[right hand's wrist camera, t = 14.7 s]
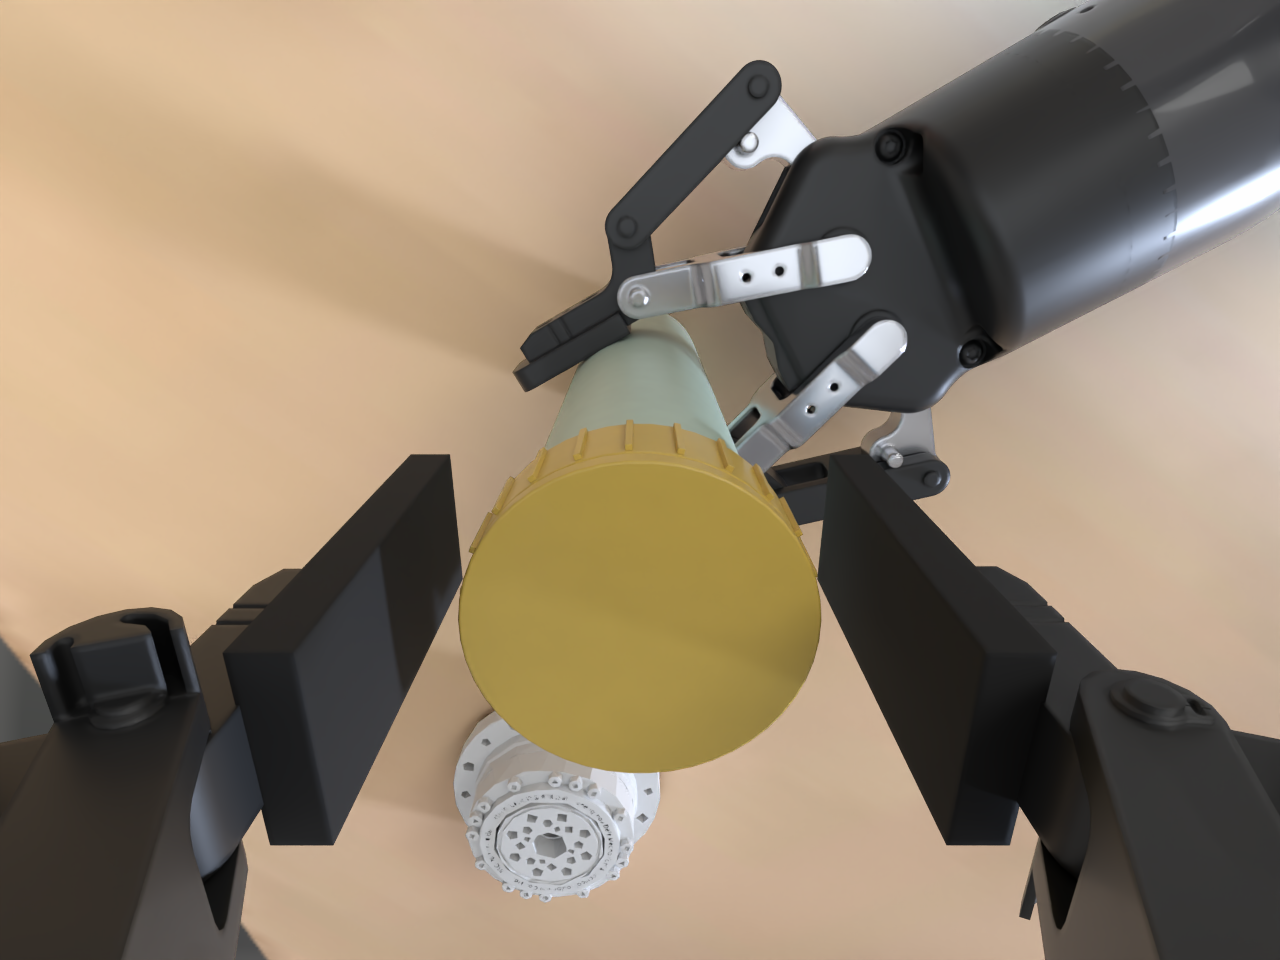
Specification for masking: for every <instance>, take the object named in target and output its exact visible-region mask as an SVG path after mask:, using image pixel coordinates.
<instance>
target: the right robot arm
mask: <svg viewBox="0 0 1280 960" xmlns="http://www.w3.org/2000/svg"><path fill="white" fill-rule="evenodd" d="M462 579H463V578H462V568H461V558H460V548H459V538H458V528H457V519H456V509H455V499H454V489H453V479H452V469H451V459H450V454H411V455H410V456H409V457H408V458H407V459H406V460H405V461H404V462H403V463H402V464H401V465H400V466H399V468H398V469H397V470H396V471H395V472H394V473H393V474H392V475H391V476H390V477H389V478H388V479H387V480H386V481H385V482H384V483H383V484H382V485H381V486H380V488H379V489H378V490H377V491H376V492H375V493H374V494H373V495H372V496H371V497H370V498H369V499H368V500H367V501H366V502H365V503H364V504H363V505H362V506H361V507H360V509H359V510H358V511H357V512H356V513H355V514H354V515H353V516H352V517H351V518H350V519H349V520H348V521H347V522H346V523H345V524H344V525H343V526H342V527H341V529H340V530H339V531H338V532H337V533H336V534H335V535H334V536H333V537H332V538H331V539H330V540H329V541H328V542H327V543H326V544H325V545H324V546H323V547H322V548H321V550H320V551H319V552H318V553H317V554H316V555H315V556H314V557H313V558H312V559H311V560H310V561H309V562H308V563H307V564H306V565H305V566H304V567H303V568H302V569H283V570H281V571H279V572H277V573H275V574H273V575H272V576H270V577H268V578H266V579H264V580H262V581H260V582H259V583H257V584H255V585H253V586H252V587H251V588H250V589H249V590H248V591H247V592H246V593H245V594H244V595H243V596H242V597H241V598H240V599H239V600H238V601H237V602H236V603H234V604H233V608H229V609H228V610H227V611H226V612H225V613H224V614H223V615H222V616H221V617H220V618H219V619H218V620H217V623H216V625H212V626H211V627H210V628H208V629H207V630H206V631H205V632H204V633H203V634H202V635H201V636H200V637H199V638H198V639H197V640H196V641H195V642H194V643H193V644H192V645H191V646H190V644H189V640H188V636H187V633H186V629H185V625H184V621H183V618H182V616H180V615H178V614H177V613H175V612H174V611H172V610H168V609H161V608H153V607H149V608H138V609H126V610H122V611H118V612H113V613H109V614H105V615H101V616H97V617H94V618H92V619H89V620H86V621H84V622H81V623H78V624H76V625H73V626H70V627H68V628H66V629H65V630H63V631H61V632H59V633H58V634H56V635H54V636H52V637H51V638H49V639H47V640H45V641H44V642H43V643H42V644H41V645H40V646H39V647H38V648H37V649H36V650H34V651H33V652H32V653H31V654H30V657H31V660H32V663H33V666H34V668H35V671H36V674H37V677H38V679H39V682H40V685H41V688H42V690H43V693H44V696H45V699H46V701H47V704H48V707H49V709H50V712H51V715H52V718H53V720H54V724H53V726H52V727H51V729H50V731H49V733H48V734H43V735H38V736H33V737H28V738H23V739H18V740H12V741H7V742H2V743H0V960H235V956H236V949H237V942H238V935H239V929H240V922H241V915H242V908H243V901H244V894H245V887H246V880H247V873H248V866H247V859H246V853H245V849H244V846H243V842H242V838H243V836H244V835H245V833H246V832H247V830H248V829H249V827H250V825H251V824H252V822H253V821H254V819H255V818H256V816H257V814H258V813H259V811H260V810H262V814H263V818H264V822H265V826H266V830H267V834H268V838H269V842H270V845H334V843H335V841H336V839H337V837H338V835H339V833H340V831H341V829H342V827H343V824H344V822H345V820H346V818H347V816H348V814H349V812H350V810H351V808H352V806H353V804H354V802H355V800H356V798H357V796H358V794H359V791H360V789H361V787H362V785H363V783H364V781H365V779H366V777H367V775H368V773H369V771H370V769H371V767H372V765H373V763H374V761H375V759H376V756H377V754H378V752H379V750H380V748H381V746H382V744H383V742H384V740H385V738H386V736H387V734H388V732H389V730H390V728H391V726H392V724H393V721H394V719H395V717H396V715H397V713H398V711H399V709H400V707H401V705H402V703H403V701H404V699H405V697H406V695H407V693H408V691H409V688H410V686H411V684H412V682H413V680H414V678H415V676H416V674H417V672H418V670H419V668H420V666H421V664H422V662H423V660H424V658H425V656H426V653H427V651H428V649H429V647H430V645H431V643H432V641H433V639H434V637H435V635H436V633H437V631H438V629H439V627H440V625H441V623H442V620H443V618H444V616H445V614H446V612H447V610H448V608H449V606H450V604H451V602H452V600H453V598H454V596H455V594H456V592H457V590H458V588H459V585H460V583H461V581H462ZM817 579H818V581H819V583H820V585H821V588H822V590H823V592H824V594H825V596H826V598H827V600H828V602H829V604H830V606H831V608H832V610H833V612H834V614H835V616H836V618H837V620H838V623H839V625H840V627H841V629H842V631H843V633H844V635H845V637H846V639H847V641H848V643H849V645H850V647H851V649H852V651H853V653H854V656H855V658H856V660H857V662H858V664H859V666H860V668H861V670H862V672H863V674H864V676H865V678H866V680H867V682H868V684H869V686H870V688H871V691H872V693H873V695H874V697H875V699H876V701H877V703H878V705H879V707H880V709H881V711H882V713H883V715H884V717H885V719H886V721H887V724H888V726H889V728H890V730H891V732H892V734H893V736H894V738H895V740H896V742H897V744H898V746H899V748H900V750H901V752H902V754H903V756H904V759H905V761H906V763H907V765H908V767H909V769H910V771H911V773H912V775H913V777H914V779H915V781H916V783H917V785H918V787H919V789H920V791H921V794H922V796H923V798H924V800H925V802H926V804H927V806H928V808H929V810H930V812H931V814H932V816H933V818H934V820H935V822H936V824H937V827H938V829H939V831H940V833H941V835H942V837H943V839H944V841H945V843H946V845H1010V842H1011V838H1012V834H1013V830H1014V826H1015V822H1016V818H1017V814H1018V810H1019V806H1020V808H1021V809H1022V811H1023V812H1024V814H1025V815H1026V817H1027V818H1028V820H1029V822H1030V823H1031V825H1032V826H1033V828H1034V829H1035V831H1036V832H1037V834H1038V836H1039V838H1038V842H1037V846H1036V849H1035V853H1034V857H1033V861H1032V864H1031V868H1030V872H1029V876H1028V879H1027V883H1026V887H1025V891H1024V894H1023V898H1022V902H1021V909H1020V915H1019V917H1022V918H1025V919H1028V920H1030V918H1031V914H1032V911H1033V907H1034V904H1035V903H1037V906H1038V913H1039V920H1040V927H1041V933H1042V940H1043V947H1044V954H1045V960H1280V739H1275V738H1270V737H1265V736H1259V735H1254V734H1249V733H1244V732H1239V731H1234V730H1231V729H1230V728H1229V726H1228V724H1227V722H1226V721H1225V720H1224V719H1223V718H1222V716H1221V715H1220V714H1219V713H1218V712H1217V711H1216V710H1215V709H1214V707H1213V706H1212V705H1210V704H1209V703H1207V702H1206V701H1204V700H1203V699H1201V698H1200V697H1198V696H1197V695H1195V694H1194V693H1192V692H1191V691H1189V690H1187V689H1185V688H1183V687H1180V686H1178V685H1176V684H1174V683H1171V682H1169V681H1167V680H1165V679H1162V678H1159V677H1155V676H1151V675H1148V674H1144V673H1140V672H1137V671H1129V670H1119V669H1117V668H1116V667H1115V666H1114V665H1113V664H1112V663H1111V662H1110V661H1109V660H1108V659H1106V658H1105V657H1104V656H1103V655H1102V654H1101V653H1100V652H1099V651H1098V650H1097V649H1096V648H1095V647H1094V646H1093V645H1092V644H1091V643H1090V642H1089V641H1088V640H1087V639H1086V638H1084V637H1083V636H1082V635H1081V634H1080V633H1079V632H1078V631H1077V630H1076V629H1075V628H1074V627H1073V626H1072V625H1071V624H1070V623H1069V622H1064V618H1063V617H1062V616H1061V615H1060V614H1059V613H1058V612H1057V611H1056V610H1055V609H1054V608H1053V607H1052V606H1048V605H1047V601H1046V600H1045V599H1044V598H1043V597H1041V596H1040V595H1039V594H1038V593H1037V592H1036V591H1035V590H1034V589H1033V588H1032V587H1031V586H1030V585H1029V584H1028V583H1027V582H1025V581H1023V580H1021V579H1019V578H1017V577H1015V576H1013V575H1012V574H1010V573H1008V572H1006V571H1004V570H1002V569H1000V568H999V567H997V566H975V565H974V564H973V563H972V562H971V561H970V560H969V559H968V558H967V557H966V556H965V555H964V554H963V553H962V552H961V551H960V550H959V548H958V547H957V546H956V545H955V544H954V543H953V542H952V541H951V540H950V539H949V538H948V537H947V536H946V535H945V534H944V533H943V532H942V531H941V530H940V529H939V527H938V526H937V525H936V524H935V523H934V522H933V521H932V520H931V519H930V518H929V517H928V516H927V515H926V514H925V513H924V512H923V511H922V510H921V509H920V507H919V506H918V505H917V504H916V503H915V502H914V501H913V500H912V499H911V498H910V497H909V496H908V495H907V494H906V493H905V492H904V491H903V490H902V489H901V488H900V486H899V485H898V484H897V483H896V482H895V481H894V480H893V479H892V478H891V477H890V476H889V475H888V474H887V473H886V472H885V471H884V470H883V469H882V468H881V466H880V465H879V464H878V463H877V462H876V461H875V460H874V459H873V458H872V457H871V456H870V455H869V454H830V459H829V469H828V479H827V489H826V499H825V509H824V519H823V528H822V538H821V548H820V558H819V568H818V578H817Z"/></svg>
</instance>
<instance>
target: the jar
mask: <svg viewBox="0 0 1280 960" xmlns="http://www.w3.org/2000/svg"><path fill="white" fill-rule="evenodd" d="M632 419H633V423H634V424H656V425H664V426H672V427H673V425H674V423H679V424H681V429H684V430H688V431H692V432H695V433H698V434H700V435H703V436H705V437H707V438H710V439H712V440H715V441H717V440H718V438H721V439H723V440H724V441H725V443H726V446H727V448H729V449H731V450H732V451H734V452H735V453H737V454H738V452H737V450H736V447H735V445H734V442H733V440H732V437H731V435H730V432H729V430H728V427H727V425H726V422H725V420H724V418H723V415H722V413H721V410H720V408H719V405H718V403H717V400H716V398H715V395H714V393H713V390H712V388H711V386H710V383H709V381H708V378H707V376H706V373H705V371H704V368H703V366H702V363H701V361H700V358H699V356H698V354H697V351H696V349H695V346H694V344H693V341H692V339H691V337H690V335H689V334H688V332H687V331H686V329H685V328H684V327H683V326H682V325H681V324H680V323H679V322H678V321H677V320H676V319H674V318H673V317H671V316H670V315H668V314H664V315H659V316H654V317H649V318H644V319H639V320H637V321H636V322H634V323H632V324H631V334H629V335H627V336H626V337H624V338H622V339H620V340H619V341H617V342H615V343H613V344H611V345H610V346H607V347H606V348H604V349H602V350H600V351H598V352H597V353H596V354H594V355H592V356H590V357H589V358H587V359H585V360H583V361H582V362H580V363H579V365H578V367H577V370H576V372H575V375H574V377H573V380H572V382H571V384H570V387H569V389H568V392H567V394H566V397H565V399H564V401H563V404H562V406H561V409H560V411H559V414H558V416H557V418H556V421H555V423H554V426H553V428H552V431H551V433H550V436H549V438H548V440H547V443H546V445H545V449H546V450H549V449H551V448H552V447H554V446H556V445H558V444H560V443H561V442H563V441H565V440H567V439H570V438H572V437H575V436H577V435H579V431H580V429H583V428H587V431H592V430H596V429H600V428H603V427H607V426H616V425H624V424H626V420H632ZM738 455H739V454H738Z"/></svg>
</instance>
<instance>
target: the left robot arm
mask: <svg viewBox="0 0 1280 960" xmlns="http://www.w3.org/2000/svg"><path fill="white" fill-rule="evenodd" d="M781 87H782V85H781V77H780V75H779V72H778V71H777V69H776V68H775V67H774V66H773V65H772V64H771V63H769V62H766V61H763V60H756V61H752V62H750V63H748V64H746V65H745V66H744V67H743V68H742V69H741V70H740V71H739V72H738V73H737V74H736V75H735V77H734V78H733V79H732V80H731V81H730V82H729V83H728V84H727V85H726V86H725V87H724V88H723V90H722V91H721V92H720V93H719V94H718V95H717V96H716V97H715V98H714V99H713V100H712V101H711V103H710V104H709V105H708V106H707V107H706V108H705V109H704V110H703V111H702V112H701V113H700V114H699V116H698V117H697V118H696V119H695V120H694V121H693V122H692V123H691V124H690V125H689V126H688V127H687V129H686V130H685V131H684V132H683V133H682V134H681V135H680V136H679V137H678V138H677V139H676V140H675V142H674V143H673V144H672V145H671V146H670V147H669V148H668V149H667V150H666V151H665V152H664V153H663V155H662V156H661V157H660V158H659V159H658V160H657V161H656V162H655V163H654V164H653V165H652V166H651V168H650V169H649V170H648V171H647V172H646V173H645V174H644V175H643V176H642V177H641V178H640V179H639V181H638V182H637V183H636V184H635V185H634V186H633V187H632V188H631V189H630V190H629V191H628V192H627V194H626V195H625V196H624V197H623V198H622V199H621V200H620V201H619V202H618V203H617V204H616V206H615V207H614V208H613V209H612V210H611V211H610V212H609V214H608V216H607V218H606V222H605V231H606V235H607V238H608V243H609V249H610V255H611V261H612V277H611V280H610V281H609V283H608V284H607V285H606V286H605V287H604V288H602V289H601V290H599V291H597V292H596V293H594V294H592V295H590V296H589V297H587V298H585V299H584V300H582V301H580V302H579V303H577V304H575V305H573V306H572V307H570V308H568V309H567V310H565V311H563V312H561V313H560V314H558V315H556V316H555V317H553V318H551V319H550V320H548V321H546V322H544V323H543V324H541V325H539V326H538V327H536V329H535V330H534V331H533V332H532V333H531V334H530V335H529V337H528V338H527V339H526V341H525V342H524V343H523V345H522V346H521V348H520V349H521V351H522V352H523V354H524V355H525V357H526V359H525V360H523V361H522V362H521V363H520V364H519V365H518V366H517V367H516V368H515V370H514V371H513V374H514V375H515V377H516V379H517V380H518V382H519V383H520V385H521V387H522V388H523V390H524V391H525V392H528V391H530V390H532V389H534V388H536V387H538V386H539V385H541V384H543V383H545V382H546V381H548V380H550V379H552V378H553V377H555V376H557V375H559V374H560V373H562V372H564V371H566V370H567V369H569V368H571V367H573V366H575V365H576V364H578V363H580V362H582V361H583V360H585V359H587V358H589V357H590V356H592V355H594V354H596V353H597V352H598V351H600V350H602V349H604V348H606V347H607V346H610V345H611V344H613V343H615V342H617V341H619V340H620V339H622V338H624V337H626V336H627V335H629V334H631V324H632V323H634V322H636V321H637V320H639V319H644V318H649V317H654V316H659V315H664V314H669V313H674V312H679V311H684V310H689V309H694V308H701V307H716V306H722V305H727V304H732V303H737V302H740V304H741V306H742V308H743V310H744V312H745V314H746V315H747V316H748V317H749V318H750V319H751V320H752V321H753V322H754V323H755V325H756V326H757V327H758V328H759V329H760V330H761V331H762V334H763V339H764V344H765V349H766V354H767V358H768V360H769V362H770V364H771V366H772V368H773V370H774V372H775V373H774V374H773V375H772V376H771V377H770V378H769V379H768V380H767V381H766V382H765V383H764V384H763V385H762V386H761V387H760V388H759V389H758V390H757V391H756V392H755V394H754V395H753V397H752V399H751V401H750V403H749V404H748V406H747V407H746V408H745V409H744V410H743V411H742V412H741V413H740V414H739V415H738V416H737V417H736V418H735V419H734V420H733V421H732V422H731V423H730V424H729V425H728V426H727V427H728V430H729V432H730V435H731V437H732V440H733V442H734V445H735V447H736V450H737V452H738V454H739V456H741V457H742V458H743V459H744V460H746V461H747V462H748V463H750V464H751V465H752V466H754V465H755V464H756V463H757V464H758V465H759V466H760V467H761V469H762V471H763V474H764V476H765V478H766V480H767V482H768V484H769V485H770V486H771V488H772V489H773V490H774V492H775V493H776V495H777V497H778V498H779V499H780V498H782V497H784V498H785V500H786V502H787V504H788V506H789V508H790V510H791V512H792V514H793V516H794V518H795V520H796V522H797V524H798V525H802V524H807V523H811V522H816V521H820V520H823V519H824V509H825V499H826V489H827V479H828V469H829V459H830V454H869V455H870V456H871V457H872V458H873V459H874V460H875V461H876V462H877V463H878V464H879V465H880V466H881V468H882V469H883V470H884V471H885V472H886V473H887V474H888V475H889V476H890V477H891V478H892V479H893V480H894V481H895V482H896V483H897V484H898V485H899V486H900V488H901V489H902V490H903V491H904V492H905V493H906V494H907V495H908V496H909V497H910V498H911V499H912V500H916V499H920V498H925V497H929V496H934V495H936V494H939V493H940V492H942V491H943V490H944V489H945V488H946V486H947V485H948V483H949V480H950V471H949V469H948V467H947V466H946V465H945V464H944V463H943V462H942V461H941V460H939V458H938V457H937V456H936V453H935V445H934V435H933V425H932V416H931V407H932V406H933V405H935V404H936V403H937V402H938V401H939V400H940V399H942V397H943V396H944V395H945V394H946V392H947V391H948V390H949V388H950V387H951V386H952V385H953V384H954V382H955V381H957V380H958V379H959V378H960V377H961V376H962V375H963V374H965V373H966V372H967V371H969V370H971V369H973V368H975V367H977V366H979V365H982V364H984V363H987V362H989V361H992V360H994V359H997V358H999V357H1001V356H1004V355H1006V354H1008V353H1010V352H1012V351H1014V350H1016V349H1018V348H1020V347H1022V346H1024V345H1026V344H1028V343H1029V342H1031V341H1033V340H1035V339H1037V338H1039V337H1041V336H1043V335H1045V334H1047V333H1049V332H1051V331H1053V330H1055V329H1057V328H1059V327H1061V326H1063V325H1065V324H1067V323H1069V322H1071V321H1073V320H1075V319H1077V318H1079V317H1080V316H1082V315H1084V314H1086V313H1088V312H1090V311H1092V310H1094V309H1096V308H1098V307H1100V306H1102V305H1104V304H1106V303H1108V302H1110V301H1112V300H1114V299H1116V298H1118V297H1120V296H1122V295H1124V294H1126V293H1128V292H1130V291H1132V290H1134V289H1136V288H1138V287H1140V286H1141V285H1143V284H1145V283H1147V282H1149V281H1151V280H1153V279H1155V278H1157V277H1159V276H1161V275H1163V274H1165V273H1167V272H1169V271H1171V270H1172V269H1174V268H1176V267H1178V266H1180V265H1182V264H1184V263H1186V262H1188V261H1190V260H1192V259H1194V258H1196V257H1198V256H1200V255H1202V254H1204V253H1206V252H1208V251H1210V250H1212V249H1214V248H1216V247H1218V246H1219V245H1221V244H1223V243H1225V242H1227V241H1229V240H1231V239H1233V238H1234V237H1236V236H1238V235H1240V234H1242V233H1244V232H1245V231H1247V230H1249V229H1250V228H1252V227H1253V226H1255V225H1257V224H1258V223H1260V222H1261V221H1263V220H1264V219H1266V218H1267V217H1269V216H1270V215H1272V214H1273V213H1275V212H1276V211H1278V210H1279V209H1280V0H1089V1H1087V2H1085V3H1084V4H1082V5H1080V6H1079V7H1077V8H1076V7H1075V8H1072V9H1070V10H1067V11H1064V12H1061V13H1059V14H1057V15H1056V16H1054V17H1052V18H1051V19H1049V20H1048V21H1047V22H1045V23H1044V24H1043V25H1041V26H1040V27H1039V28H1038V29H1037V30H1036V31H1035V32H1034V33H1033V34H1031V35H1029V36H1028V37H1026V38H1024V39H1023V40H1021V41H1019V42H1018V43H1016V44H1014V45H1012V46H1011V47H1009V48H1007V49H1006V50H1004V51H1002V52H1001V53H999V54H997V55H995V56H994V57H992V58H990V59H989V60H987V61H985V62H984V63H982V64H980V65H978V66H977V67H975V68H973V69H972V70H970V71H968V72H967V73H965V74H963V75H961V76H960V77H958V78H956V79H955V80H953V81H951V82H949V83H948V84H946V85H944V86H943V87H941V88H939V89H938V90H936V91H934V92H932V93H931V94H929V95H927V96H926V97H924V98H922V99H920V100H919V101H917V102H915V103H914V104H912V105H910V106H908V107H907V108H905V109H903V110H902V111H900V112H898V113H897V114H895V115H893V116H891V117H890V118H888V119H886V120H885V121H883V122H881V123H879V124H878V125H876V126H874V127H873V128H871V129H869V130H867V131H865V132H863V133H861V134H860V135H855V136H849V137H825V138H822V139H819V140H817V139H816V138H815V137H814V136H813V135H812V133H811V132H810V131H809V130H808V128H807V127H806V126H805V125H804V124H803V122H802V121H801V120H800V119H799V117H798V116H797V115H796V114H795V113H794V111H793V110H792V109H791V108H790V107H789V105H788V104H787V103H786V102H785V100H784V99H783V98H782V97H781V96H780V93H781ZM767 159H772V160H776V161H778V162H780V163H781V164H782V165H783V166H784V167H785V168H784V170H783V172H782V174H781V176H780V178H779V180H778V182H777V184H776V186H775V188H774V190H773V192H772V194H771V196H770V198H769V200H768V202H767V205H766V207H765V209H764V211H763V213H762V215H761V217H760V219H759V221H758V223H757V225H756V227H755V229H754V231H753V233H752V235H751V237H750V239H749V242H748V244H747V245H746V246H742V247H737V248H732V249H727V250H722V251H717V252H712V253H707V254H703V255H698V256H694V257H691V258H688V259H684V260H679V261H674V262H669V263H664V264H659V265H655V262H654V255H653V248H652V242H651V234H652V233H653V232H654V231H655V230H656V229H657V228H658V227H659V226H660V224H661V223H662V222H663V221H664V220H665V219H666V218H667V217H668V216H669V215H670V214H671V213H672V212H673V211H674V210H675V209H676V208H677V207H678V206H679V205H680V203H681V202H682V201H683V200H684V199H685V198H686V197H687V196H688V195H689V194H690V193H691V192H692V191H693V190H694V189H695V188H696V187H697V186H698V185H699V184H700V182H701V181H702V180H703V179H704V178H705V177H706V176H707V175H708V174H709V173H710V172H711V171H712V170H713V169H714V168H715V167H716V166H717V165H718V164H719V163H720V161H721V160H722V161H723V162H724V163H725V164H726V165H727V166H728V167H729V168H731V169H733V170H737V171H744V170H747V169H750V168H752V167H754V166H756V165H757V164H759V163H760V162H761V161H763V160H767ZM811 405H812V406H811ZM809 406H811V408H810V409H807V408H808V407H809ZM842 406H844V407H853V408H862V409H871V410H880V411H889V412H891V414H890V417H889V419H888V420H887V421H886V422H885V423H884V424H883V425H882V426H880V427H878V428H875V429H873V430H871V431H869V432H868V433H867V434H866V435H865V436H864V438H863V440H862V442H861V447H856V448H852V449H848V450H843V451H839V452H835V453H830V454H826V455H821V456H817V457H813V458H808V459H804V460H799V461H795V462H791V463H786V464H782V465H778V466H773V467H771V466H772V465H773V464H774V463H775V462H776V461H777V460H778V459H779V458H780V457H782V456H783V455H784V454H785V453H786V452H787V451H789V450H791V449H796V448H798V447H800V446H801V445H802V444H804V443H805V442H806V441H807V440H808V439H809V438H810V437H811V436H812V435H813V434H814V433H815V432H816V431H817V430H818V429H820V428H821V427H822V426H823V425H824V424H825V423H826V422H827V421H828V420H829V419H830V418H831V417H832V416H833V415H834V414H835V413H836V412H837V411H838V410H839V409H840V408H841V407H842Z"/></svg>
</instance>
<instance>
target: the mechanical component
mask: <svg viewBox="0 0 1280 960" xmlns="http://www.w3.org/2000/svg"><path fill="white" fill-rule="evenodd" d="M453 785H454V792H455V800H456V805H457V807H458V809H459V812H460V814H461V816H462V817H463V819H464V821H465V823H466V825H467V826H468V829H467V832H466V837H467V839H468V841H469V844H470V847H471V850H472V853H473V855H474V857H475V858H476V862H475V866H476V868H478V869H479V870H486V871H487V872H488V873H489V874H490V875H491V876H492V877H493V878H495V879H497V880H498V881H500V882H502V883H503V884H502V888H503V891H506V892H512V891H513V890H514V889H517V890H520V896H521V897H523V898H524V899H529V898H531V897H532V895H533V894H534V895H539V899H540V900H541V901H543V902H549V901H550V900H551V898H552V897H559V896H567V895H575V894H577V895H578V896H579V897H580V898H585V897H588V895H589V891H590V890H591V889H594V888H597V887H599V886H601V885H602V884H604V883H605V882H607V881H608V880H617V879H618V878H619V871H620V870H621V869H622V868H623V867H627V866H628V863H629V860H628V858H629V855H630V853H631V852H632V851H633V845H634V844H635V843H636V842H637V841H638V840H639V839H640V838H641V837H642V836H643V835H644V834H645V833H646V831H647V830H648V828H649V826H650V825H651V823H652V822H653V820H654V818H655V815H656V811H657V808H658V804H659V801H660V783H659V772H657V773H622V772H613V771H605V770H600V769H596V768H591V767H586V766H583V765H580V764H577V763H574V762H571V761H568V760H565V759H563V758H561V757H558V756H556V755H554V754H552V753H549V752H547V751H545V750H544V749H542V748H540V747H539V746H537V745H535V744H534V743H532V742H530V741H529V740H527V739H526V738H524V737H523V736H522V735H521V734H519V733H518V732H517V731H515V730H514V729H513V728H511V727H510V726H509V725H508V724H507V723H506V722H505V721H504V720H503V719H502V718H501V717H500V716H499V715H498V714H497V713H496V712H495V711H494V712H492V713H491V714H489V715H488V716H487V717H485V718H484V719H482V720H481V721H480V722H478V723H477V725H476V726H475V728H474V729H473V731H472V733H471V734H470V736H469V737H468V739H467V740H466V742H465V743H464V745H463V748H462V751H461V754H460V757H459V760H458V763H457V766H456V771H455V777H454V783H453Z"/></svg>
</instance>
